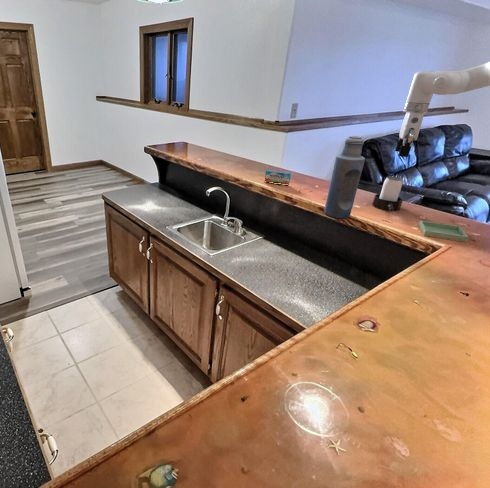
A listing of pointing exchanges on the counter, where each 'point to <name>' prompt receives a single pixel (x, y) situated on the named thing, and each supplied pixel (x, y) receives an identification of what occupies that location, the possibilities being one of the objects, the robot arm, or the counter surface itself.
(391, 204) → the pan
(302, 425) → the counter surface
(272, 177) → the teal printed box
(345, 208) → the bottle
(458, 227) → the tray
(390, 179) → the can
